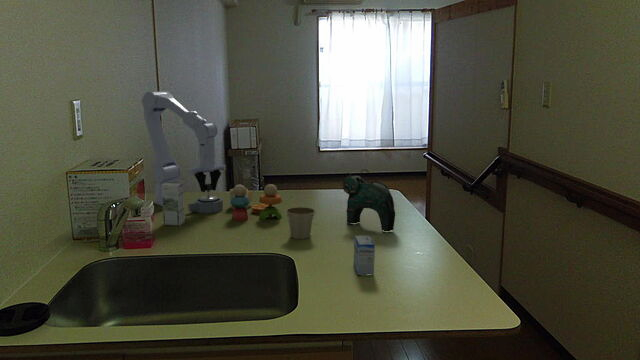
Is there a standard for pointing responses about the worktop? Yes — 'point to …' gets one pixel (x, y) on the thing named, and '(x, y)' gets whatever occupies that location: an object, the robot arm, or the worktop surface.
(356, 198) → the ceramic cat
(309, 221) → the flower pot
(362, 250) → the medicine box
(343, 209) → the worktop surface
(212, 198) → the plunger
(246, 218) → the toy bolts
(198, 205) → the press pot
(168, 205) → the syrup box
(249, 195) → the beige rounded domed part
